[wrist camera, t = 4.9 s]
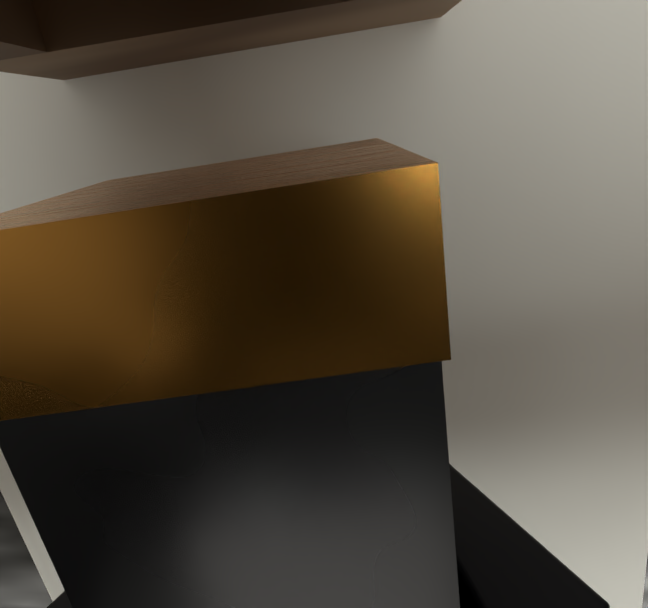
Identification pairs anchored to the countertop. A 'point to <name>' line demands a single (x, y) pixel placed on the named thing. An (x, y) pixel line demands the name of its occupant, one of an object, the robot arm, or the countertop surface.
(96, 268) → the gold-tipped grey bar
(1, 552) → the countertop surface
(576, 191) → the base board
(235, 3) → the socket block
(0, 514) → the countertop surface
